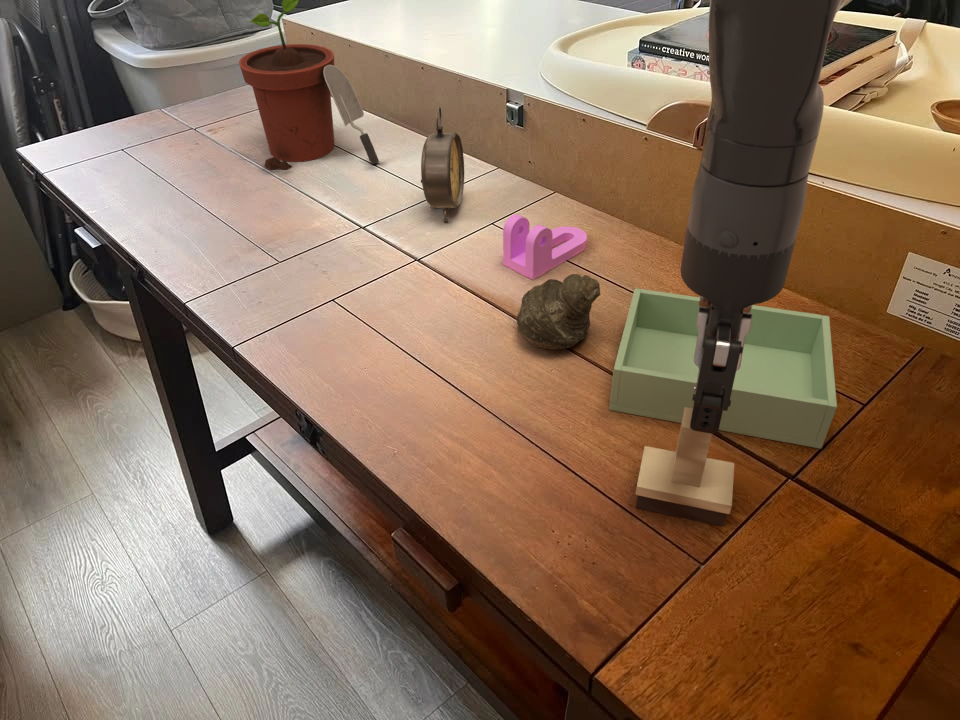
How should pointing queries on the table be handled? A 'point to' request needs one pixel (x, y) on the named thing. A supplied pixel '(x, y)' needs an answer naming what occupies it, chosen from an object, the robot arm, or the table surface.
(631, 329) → the bin
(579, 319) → the seashell
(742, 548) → the table surface
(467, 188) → the table surface
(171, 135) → the table surface
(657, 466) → the base with upright post
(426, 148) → the alarm clock
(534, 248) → the bracket
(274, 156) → the potted plant
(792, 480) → the table surface
